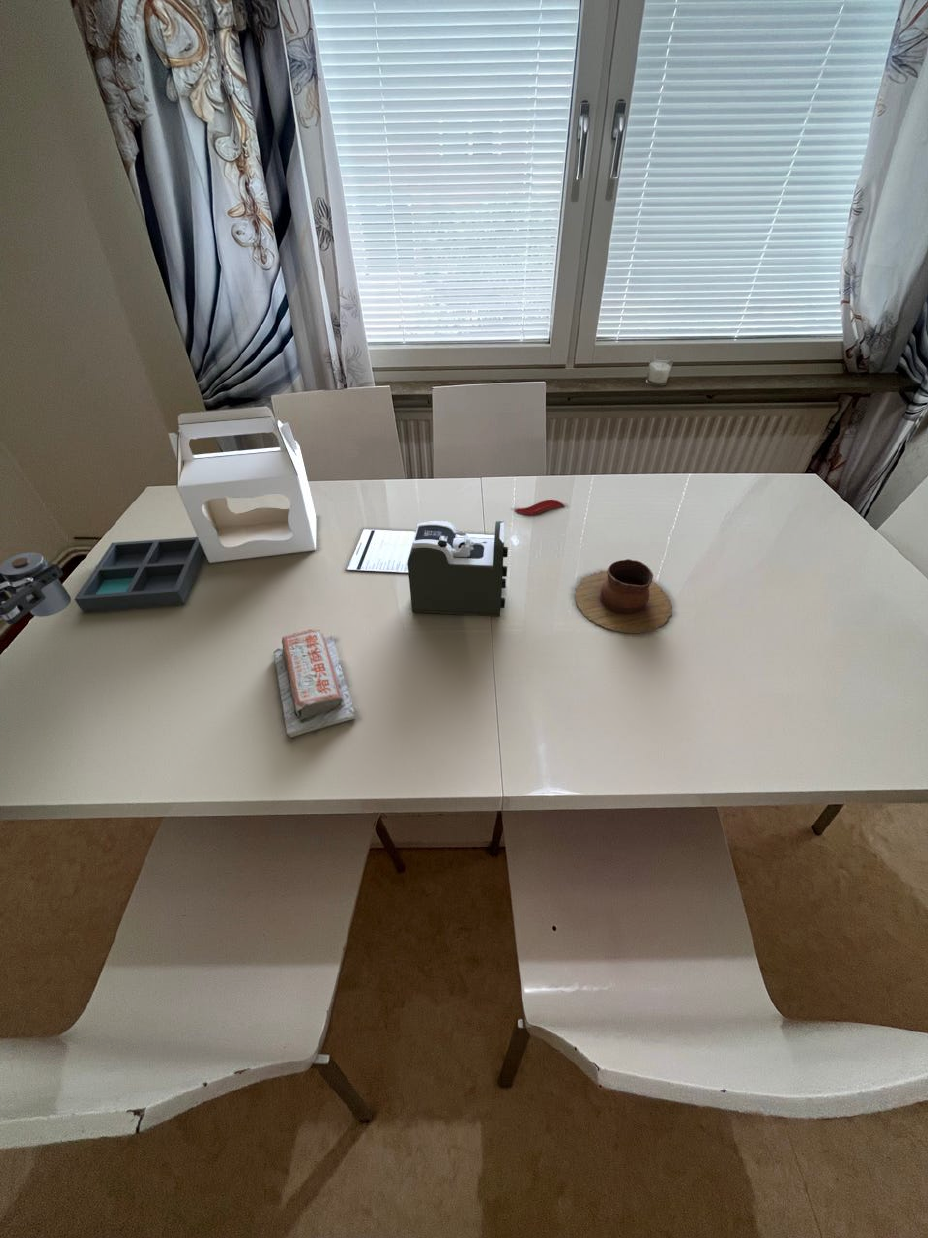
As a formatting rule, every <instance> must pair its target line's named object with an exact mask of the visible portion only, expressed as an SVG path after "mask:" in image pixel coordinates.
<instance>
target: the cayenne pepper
mask: <svg viewBox="0 0 928 1238" xmlns="http://www.w3.org/2000/svg"><path fill="white" fill-rule="evenodd" d="M561 507H565V504H564V503H562V502H560V501H559V500H556V499H546V500H545V499H544V500H541V501H539V502H537V503H534V504H532V505H530V506H527V507H521V508H520V507H519V508H514V511H516V512H517V513H520V514H524V515H531V516H532V515H533V516H534V515H538V514H540V513H542V512H544V511H547V510H551V509H554V508H561Z"/></svg>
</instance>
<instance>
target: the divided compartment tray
mask: <svg viewBox="0 0 928 1238" xmlns="http://www.w3.org/2000/svg"><path fill="white" fill-rule="evenodd" d="M205 557H206V555H205V553H204V550H203V548H202V546H201V543H200V541H199V539H198V536H189V537H175V538H174V537H173V538H161V539H146V540H132V541H131V540H130V541H118V542H117V541H116V542H111V543H110V545H109V547H108V548H107V550H106V551H105V553H104V554H103V556H102V557H101V559H100V560H99V562H97V565H96V566H95V568H94V569H93V571H92V572H91V573H90V574H89V576H88V578H87V580H86V581H85V583H84V584H83V586H82V587H81V589H80V590H79V591H78V593H77V595H76V596H75V598H74V601H75V602H76V604H77V605H78V607H79V608H80V610H81V611H82V612H83V613H96V612H108V611H109V612H110V611H120V610H121V611H122V610H134V609H147V608H158V607H170V606H171V607H172V606H173V607H174V606H183V605H185V604H186V601H187V599H188V598H189V597H188V596H189V594H190V592H191V590H192V587H193V585H194V583H195V580H196V578H197V575H198V573H199V571H200V569H201V566H202V564H203V561H204V559H205Z"/></svg>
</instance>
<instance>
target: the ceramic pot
mask: <svg viewBox="0 0 928 1238" xmlns="http://www.w3.org/2000/svg"><path fill="white" fill-rule="evenodd" d="M653 579H654V574H653V571H652V570H651V568H650V567H649V566H648V565H646V564H645V563H643V562H641V561H639V560H633V559H629V558H627V559H622V560H621V559H620V560H616V561H614V562H612V563H610V565H609V566H608V568H607V570H600V572H595V573H590V575H587V576H586V577H583V578H582V579H581V580H580V581H579V583H578V585H577V587H576V588H575V592H574V599H575V601H576V605H577V607H578V609H579V610H580V612H581V613H582V615H583V616H585V618H586V619H587V620H588V621H591V622H593V623H595V625H599V626H601V628H602V627H604V628H606V629H607V630H611V631H617V632H621V633H624V634H627V633H633V634H642V633H643V634H644V633H647V632H650V631H654V630H656V629H657V628H658V627H663V625H665V623H666V622H668V621H669V618H670V616H672V610H671V609H672V604H671V600H670V599H671V598H669V595H667V593H666V591H664V590H663V589H662V587H661V586H659V585H658V584H657V583H656V582H653Z"/></svg>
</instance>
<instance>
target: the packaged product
mask: <svg viewBox="0 0 928 1238" xmlns="http://www.w3.org/2000/svg"><path fill="white" fill-rule="evenodd" d="M281 638H282V640H281V643H282V648H276V649H275V650H274V651H273V657H274V663H275V669H276V674H277V680H278V687H279V693H280V700H281V704H282V711H283V716H284V724H285V729H286V735H288V737H289V738H290V739H291V738H294V737H297V736H300V735H304V734H307V733H311V732H314V731H317V730H320V729H323V728H327V727H331V726H333V725H336V724H340V723H343V722H347V721H351V720H354V719H356V714H355V710H354V706H353V702H352V698H351V695H350V692H349V688H348V686H347V682H346V678H345V676H344V672H343V671H344V670H343V669H342V665H341V662H340V657H339V654H338V651H337V647H336V645H335V641H334V637H333V636H332V635H331V636H328V637H325V636H324V634H323V632H322V630H320V629H312V628H310V629H308V630H303V631H300V632H295V633H292V634H288V635H287V634H286V635H283V636H281Z"/></svg>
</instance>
